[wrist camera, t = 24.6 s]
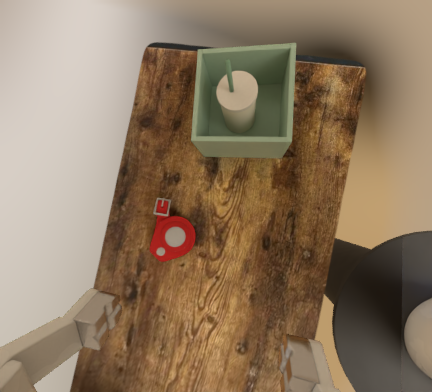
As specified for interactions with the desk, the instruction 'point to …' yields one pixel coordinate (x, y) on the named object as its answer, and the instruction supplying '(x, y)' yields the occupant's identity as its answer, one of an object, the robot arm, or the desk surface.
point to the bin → (265, 102)
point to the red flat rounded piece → (170, 233)
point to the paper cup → (237, 99)
